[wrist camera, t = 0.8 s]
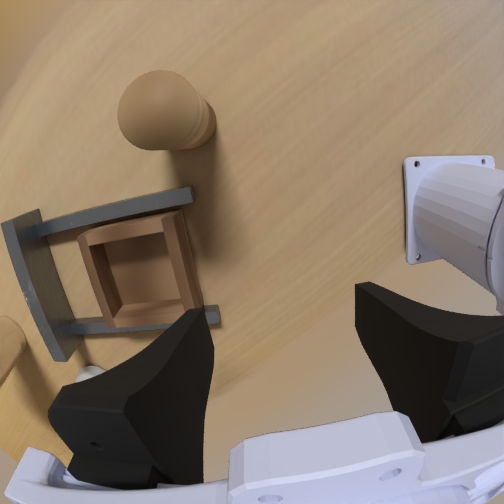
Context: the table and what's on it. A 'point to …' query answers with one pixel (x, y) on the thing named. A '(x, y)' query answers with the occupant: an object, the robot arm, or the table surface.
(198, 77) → the table surface
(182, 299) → the walnut socket block
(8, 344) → the cup with straw
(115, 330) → the rail
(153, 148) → the oak dowel
